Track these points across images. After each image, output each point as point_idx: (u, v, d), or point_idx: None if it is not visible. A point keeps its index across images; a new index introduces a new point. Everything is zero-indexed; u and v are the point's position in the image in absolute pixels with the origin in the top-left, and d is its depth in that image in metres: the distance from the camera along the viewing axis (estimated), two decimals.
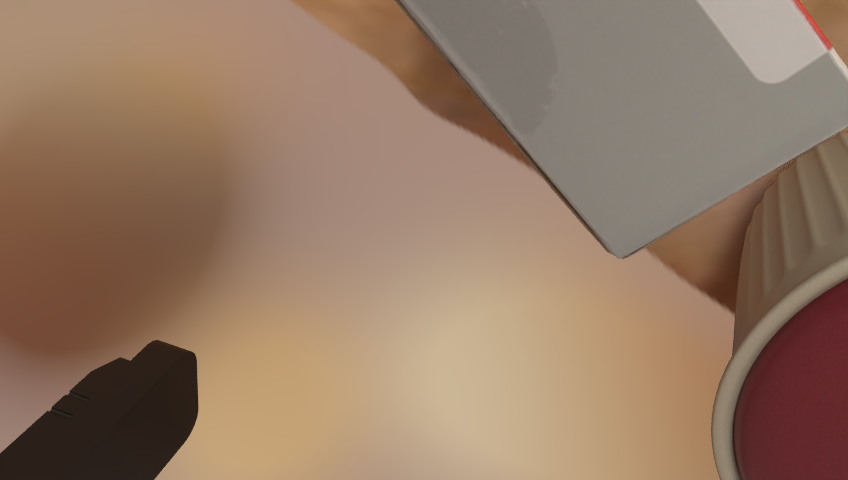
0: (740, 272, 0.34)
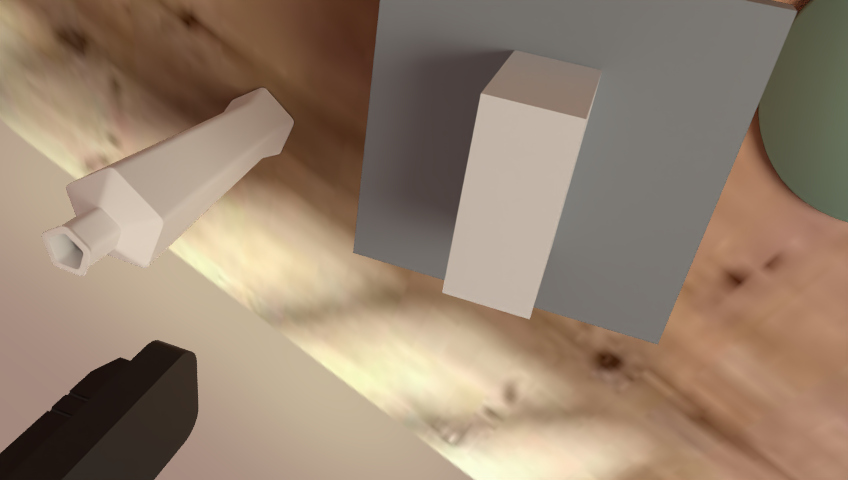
0: None
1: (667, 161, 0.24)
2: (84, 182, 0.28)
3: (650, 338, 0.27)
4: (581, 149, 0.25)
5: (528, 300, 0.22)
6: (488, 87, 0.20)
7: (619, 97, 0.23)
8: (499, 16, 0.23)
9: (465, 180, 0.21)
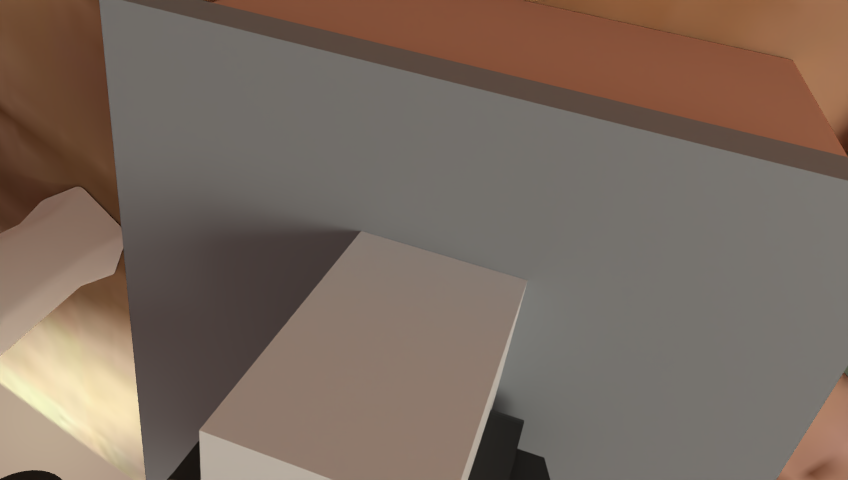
0: None
1: (657, 442, 0.12)
2: None
3: None
4: (496, 404, 0.13)
5: None
6: (234, 395, 0.09)
7: (562, 329, 0.12)
8: (325, 170, 0.12)
9: None
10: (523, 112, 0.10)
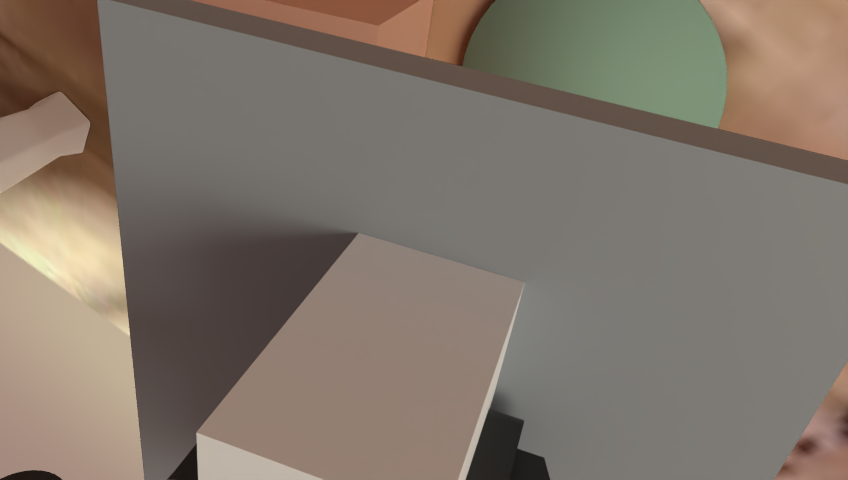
0: None
1: (654, 444, 0.12)
2: None
3: None
4: (494, 405, 0.13)
5: None
6: (231, 397, 0.09)
7: (560, 331, 0.12)
8: (323, 172, 0.12)
9: None
10: (520, 115, 0.10)
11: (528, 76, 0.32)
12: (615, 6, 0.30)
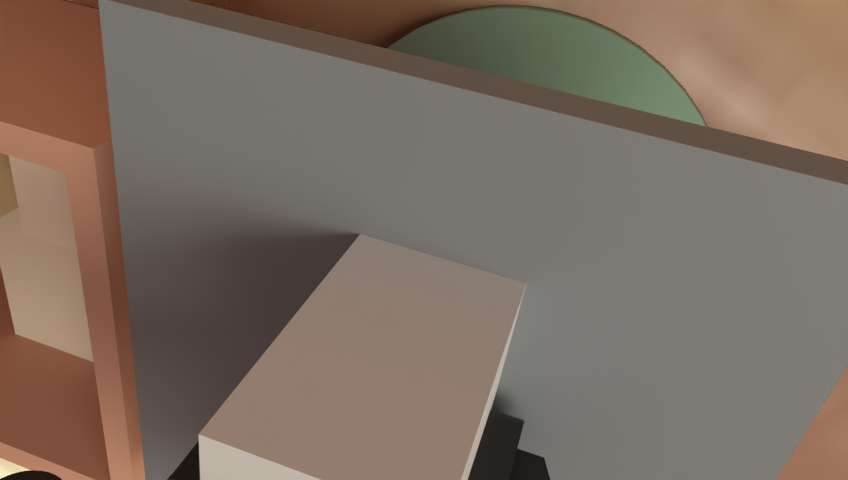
0: None
1: (656, 445, 0.12)
2: None
3: None
4: (495, 406, 0.13)
5: None
6: (233, 399, 0.09)
7: (561, 332, 0.12)
8: (325, 173, 0.12)
9: None
10: (522, 116, 0.10)
11: None
12: None
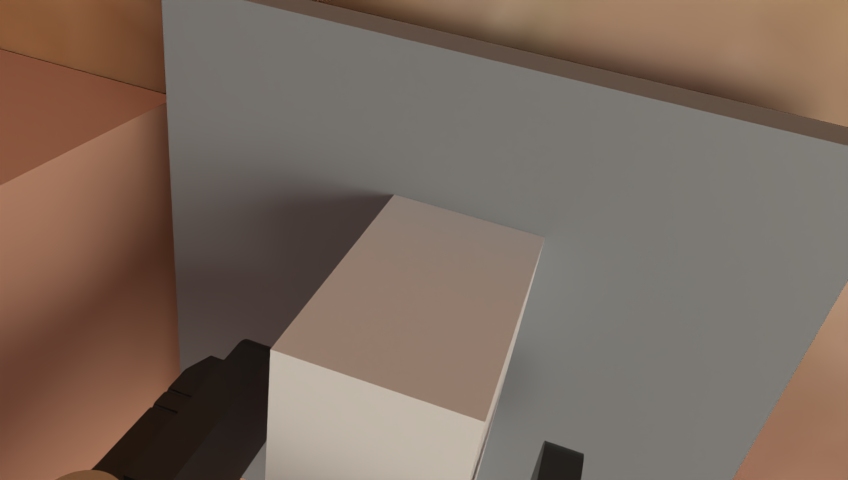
0: None
1: (660, 386, 0.14)
2: None
3: None
4: (514, 354, 0.14)
5: None
6: (296, 324, 0.10)
7: (576, 282, 0.13)
8: (363, 138, 0.13)
9: None
10: (543, 83, 0.12)
11: None
12: None
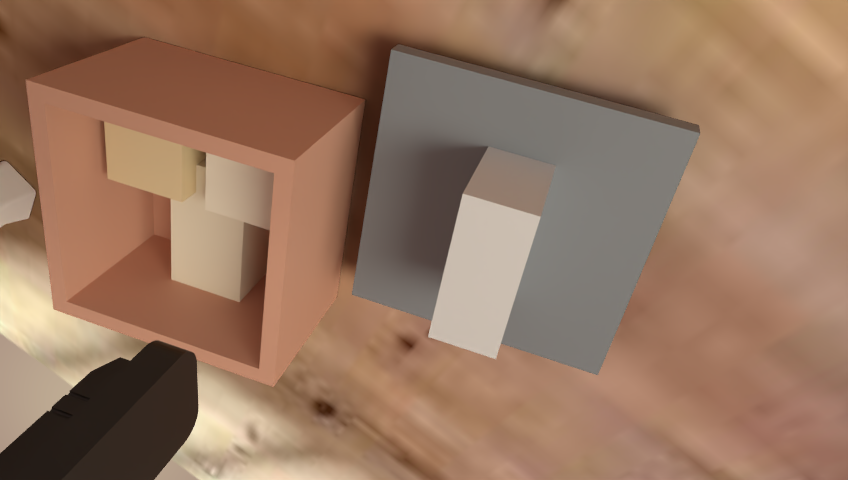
0: None
1: (605, 235, 0.31)
2: None
3: (591, 370, 0.34)
4: (539, 223, 0.31)
5: (494, 345, 0.29)
6: (468, 187, 0.26)
7: (568, 186, 0.30)
8: (477, 121, 0.30)
9: (448, 254, 0.27)
10: (558, 99, 0.28)
11: None
12: None
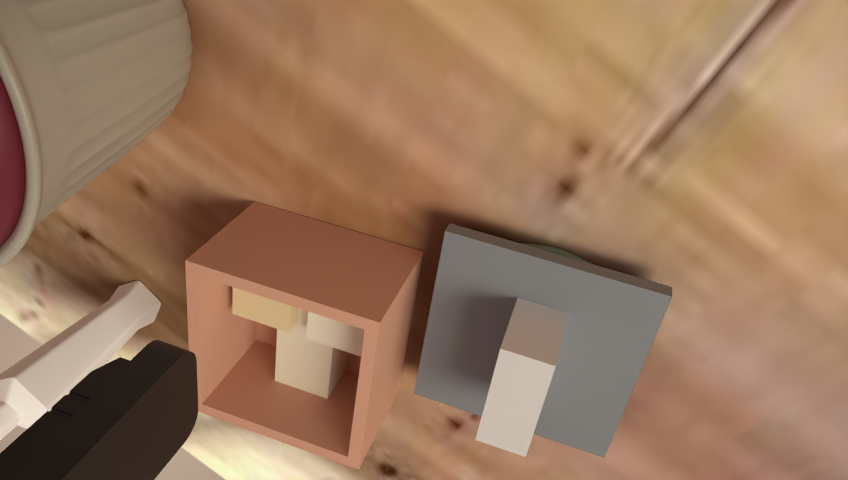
0: None
1: (606, 360, 0.41)
2: None
3: (599, 454, 0.45)
4: None
5: (524, 447, 0.39)
6: (504, 341, 0.37)
7: (577, 326, 0.40)
8: (508, 280, 0.40)
9: (490, 386, 0.38)
10: (568, 269, 0.39)
11: None
12: None
